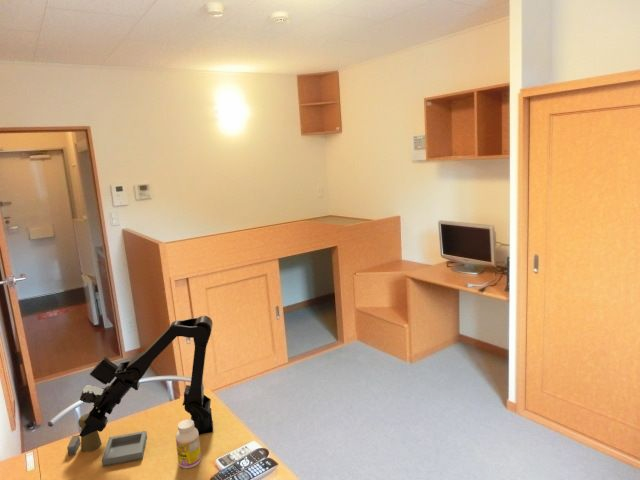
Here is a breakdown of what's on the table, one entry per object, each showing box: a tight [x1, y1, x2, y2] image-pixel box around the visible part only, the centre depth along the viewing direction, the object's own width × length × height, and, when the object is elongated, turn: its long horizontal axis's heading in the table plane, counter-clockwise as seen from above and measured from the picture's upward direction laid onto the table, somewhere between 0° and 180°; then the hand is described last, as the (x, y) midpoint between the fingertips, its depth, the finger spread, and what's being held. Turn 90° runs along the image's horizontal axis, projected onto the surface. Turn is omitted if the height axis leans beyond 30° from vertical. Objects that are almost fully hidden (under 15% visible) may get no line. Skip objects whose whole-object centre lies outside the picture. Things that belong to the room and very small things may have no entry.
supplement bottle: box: [175, 418, 202, 469], centre depth 134 cm, size 7×7×13 cm
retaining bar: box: [66, 434, 81, 457], centre depth 143 cm, size 2×6×3 cm, turn 14°
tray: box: [101, 430, 148, 468], centre depth 141 cm, size 11×11×2 cm
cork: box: [77, 413, 103, 453], centre depth 144 cm, size 6×6×11 cm
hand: (83, 428), depth 143 cm, fingers open, 8 cm apart
